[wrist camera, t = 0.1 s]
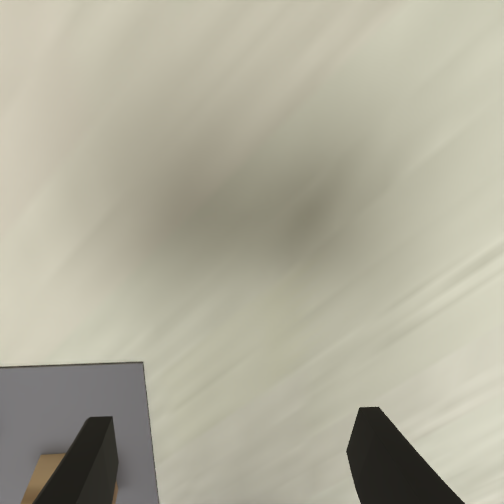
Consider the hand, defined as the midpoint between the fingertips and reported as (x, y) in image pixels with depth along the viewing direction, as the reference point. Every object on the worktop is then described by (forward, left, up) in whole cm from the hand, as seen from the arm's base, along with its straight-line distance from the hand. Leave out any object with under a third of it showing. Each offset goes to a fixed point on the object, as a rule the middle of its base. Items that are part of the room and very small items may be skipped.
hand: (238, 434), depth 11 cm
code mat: (-14, +12, -10) cm, 21 cm away
